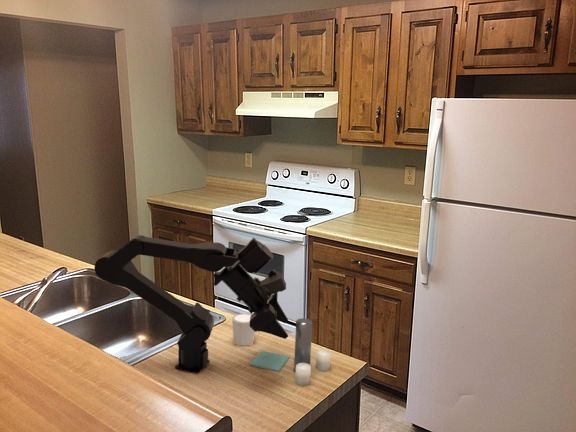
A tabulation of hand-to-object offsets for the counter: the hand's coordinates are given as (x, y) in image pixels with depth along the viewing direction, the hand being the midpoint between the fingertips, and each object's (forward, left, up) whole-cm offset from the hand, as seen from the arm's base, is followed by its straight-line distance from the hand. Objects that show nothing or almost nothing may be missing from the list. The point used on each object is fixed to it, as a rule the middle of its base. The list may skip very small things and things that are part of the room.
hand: (286, 329), depth 121 cm
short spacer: (+6, -4, -11) cm, 13 cm away
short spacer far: (+8, +5, -11) cm, 15 cm away
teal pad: (-5, +2, -11) cm, 12 cm away
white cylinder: (-16, +10, -11) cm, 22 cm away
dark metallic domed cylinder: (+4, +1, -11) cm, 12 cm away
